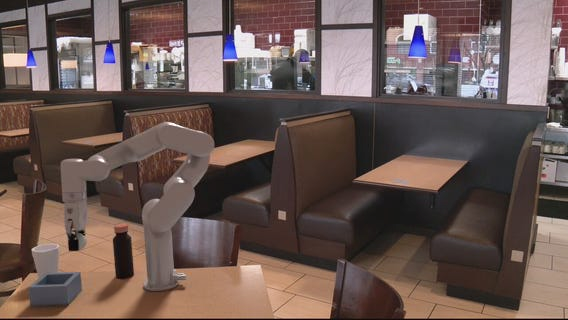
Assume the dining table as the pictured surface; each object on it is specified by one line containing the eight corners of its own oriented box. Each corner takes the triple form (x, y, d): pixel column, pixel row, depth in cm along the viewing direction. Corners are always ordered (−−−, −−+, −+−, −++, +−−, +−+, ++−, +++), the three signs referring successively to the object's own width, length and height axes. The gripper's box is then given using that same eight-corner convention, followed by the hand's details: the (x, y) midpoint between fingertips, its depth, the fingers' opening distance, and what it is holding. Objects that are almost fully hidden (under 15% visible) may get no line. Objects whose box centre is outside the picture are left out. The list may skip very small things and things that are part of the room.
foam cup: (67, 276, 198) (64, 243, 196) (54, 285, 189) (50, 251, 187) (43, 275, 199) (40, 243, 197) (29, 285, 190) (26, 251, 188)
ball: (89, 247, 178) (88, 230, 177) (83, 253, 172) (82, 235, 171) (71, 247, 178) (70, 230, 177) (65, 253, 172) (64, 235, 171)
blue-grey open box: (82, 290, 184) (80, 271, 183) (68, 305, 171) (66, 285, 170) (46, 291, 184) (44, 273, 183) (30, 307, 171) (28, 287, 170)
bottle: (136, 276, 195) (132, 226, 192) (117, 280, 192) (113, 229, 189) (131, 271, 201) (128, 221, 198) (114, 274, 198) (109, 224, 195)
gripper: (76, 201, 164) (79, 256, 166) (94, 190, 181) (96, 240, 183) (52, 201, 163) (56, 256, 166) (72, 190, 180) (75, 240, 183)
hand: (77, 247), depth 175 cm, fingers closed on ball, 5 cm apart
